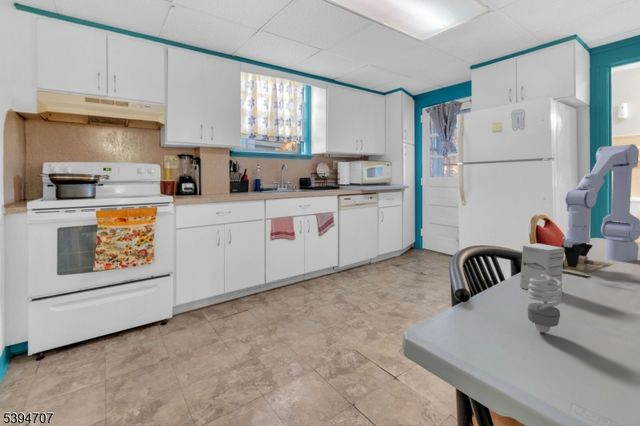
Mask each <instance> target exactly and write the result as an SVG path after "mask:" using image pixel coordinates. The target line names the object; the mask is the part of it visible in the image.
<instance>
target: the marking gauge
mask: <svg viewBox="0 0 640 426" xmlns="http://www.w3.org/2000/svg"><path fill="white" fill-rule="evenodd" d="M564 260H565V263H564V267H567V268H572V269H577V270H585V269H587V264H590V265H593V263H594V262H593V261H594V260H592V261H588V260H589V257H588V256H587V257H585V256H579V259H578V264H577V266H576V268H574V267H569V266H568V264H567V259H566V255H565V254H564Z"/></svg>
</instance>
